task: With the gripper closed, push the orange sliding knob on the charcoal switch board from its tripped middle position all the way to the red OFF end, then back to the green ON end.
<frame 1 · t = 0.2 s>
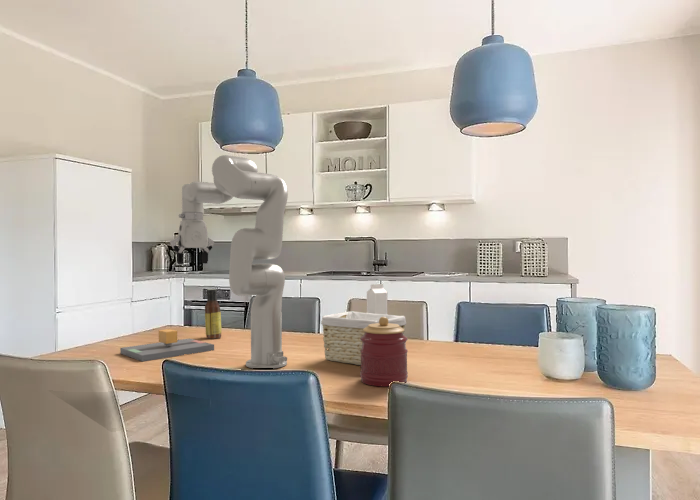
hand: (192, 263, 193), 31 cm above the table, tool pointing down, fingers open, 9 cm apart
switch knob: (167, 337, 183), point 5 cm above the table, slide at 0.0 cm
switch board: (168, 351, 183), on the table
storage basket: (363, 361, 168), on the table
sauce bottle: (213, 338, 211), on the table
milk: (377, 340, 206), on the table
canister: (383, 381, 142), on the table
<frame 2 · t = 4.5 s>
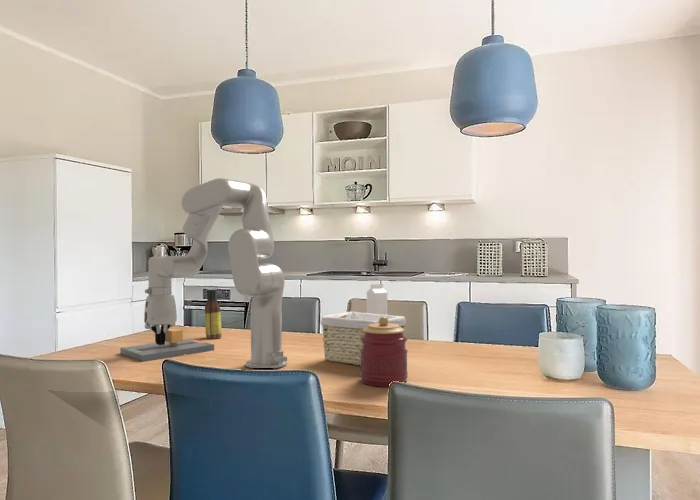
hand: (160, 344, 181), 3 cm above the table, tool pointing down, fingers closed
switch knob: (173, 337, 184), point 5 cm above the table, slide at -2.0 cm, touching gripper
everything else where it was.
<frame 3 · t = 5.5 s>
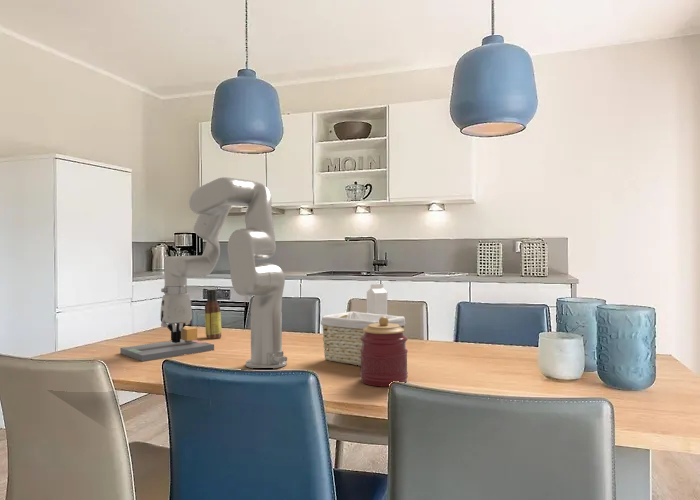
hand: (176, 342, 185), 3 cm above the table, tool pointing down, fingers closed
switch knob: (188, 335, 189), point 5 cm above the table, slide at -7.7 cm, touching gripper
everything else where it was.
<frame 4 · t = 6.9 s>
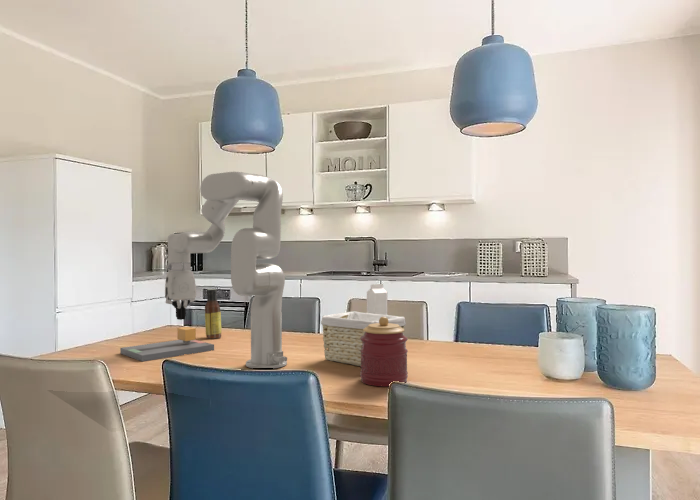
hand: (181, 319, 186), 11 cm above the table, tool pointing down, fingers closed
switch knob: (186, 335, 188), point 5 cm above the table, slide at -7.1 cm
everything else where it was.
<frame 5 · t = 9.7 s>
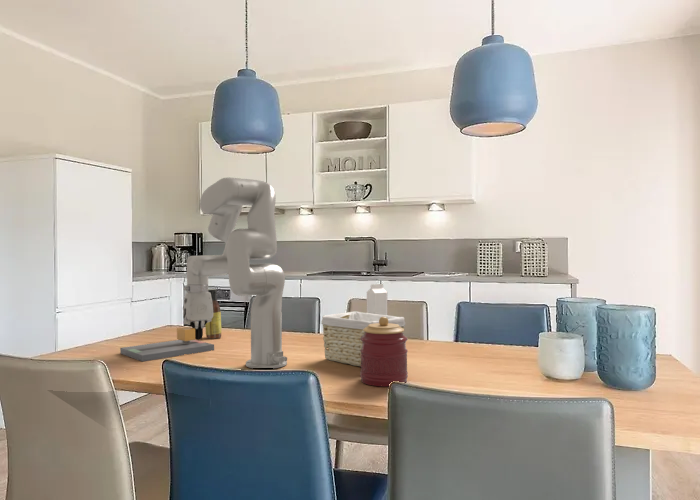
hand: (198, 338, 191), 3 cm above the table, tool pointing down, fingers closed
switch knob: (186, 335, 188), point 5 cm above the table, slide at -6.9 cm, touching gripper
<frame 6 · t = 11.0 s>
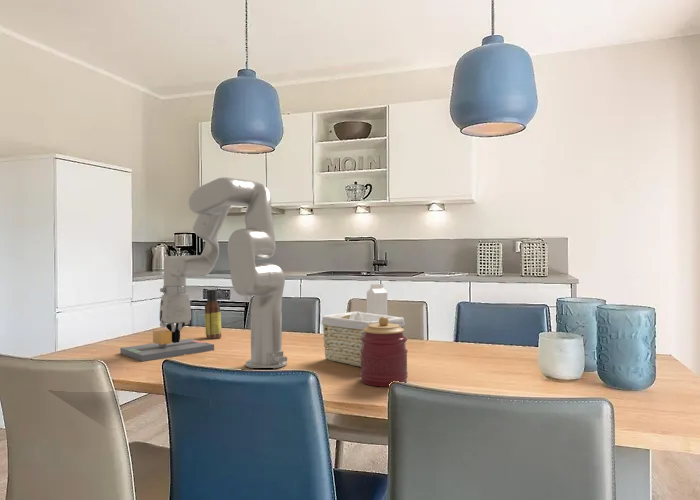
hand: (175, 342, 185), 3 cm above the table, tool pointing down, fingers closed
switch knob: (162, 338, 182), point 5 cm above the table, slide at 2.1 cm, touching gripper
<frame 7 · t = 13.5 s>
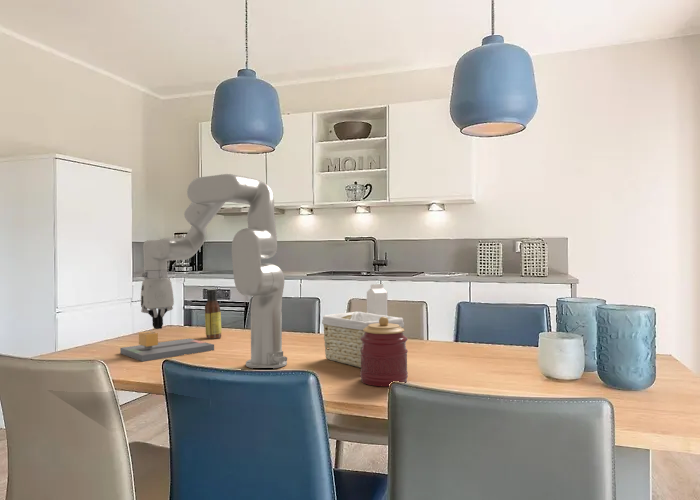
hand: (157, 328, 180), 9 cm above the table, tool pointing down, fingers closed
switch knob: (148, 340, 178), point 5 cm above the table, slide at 7.1 cm
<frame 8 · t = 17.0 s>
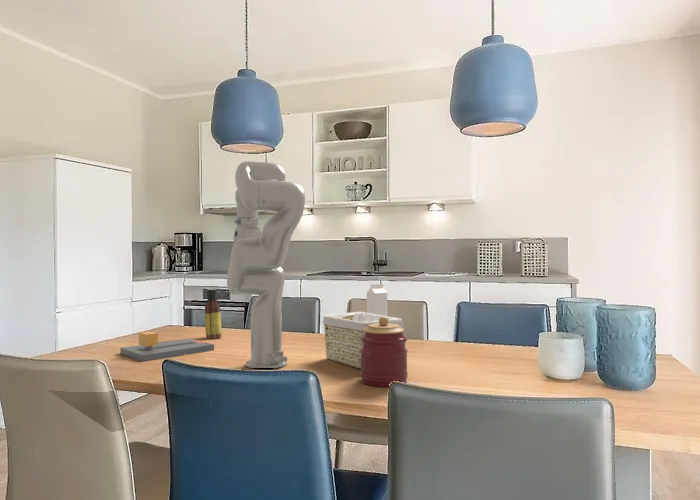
hand: (247, 274, 186), 27 cm above the table, tool pointing down, fingers closed
at the end: switch knob slide at 7.1 cm; sauce bottle moved 0.2 cm from its start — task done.
